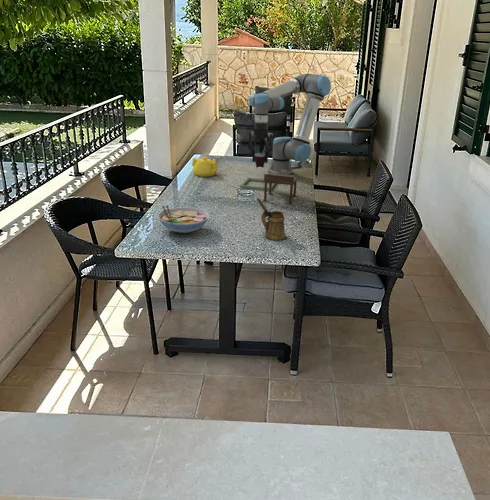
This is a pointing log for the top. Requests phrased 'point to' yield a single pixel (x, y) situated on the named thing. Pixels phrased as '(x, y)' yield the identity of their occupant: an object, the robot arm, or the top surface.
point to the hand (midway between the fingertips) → (260, 161)
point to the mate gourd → (260, 158)
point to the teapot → (204, 167)
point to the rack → (280, 179)
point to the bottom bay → (254, 186)
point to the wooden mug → (273, 223)
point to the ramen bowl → (183, 219)
